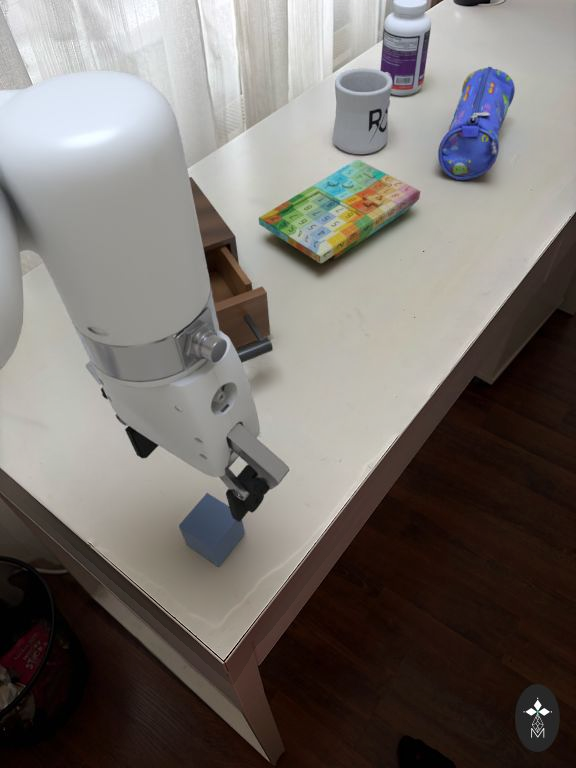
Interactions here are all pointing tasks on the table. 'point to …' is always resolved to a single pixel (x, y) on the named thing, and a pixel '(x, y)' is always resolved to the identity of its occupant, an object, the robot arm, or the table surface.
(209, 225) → the cabinet
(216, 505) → the block
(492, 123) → the pencil case
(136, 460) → the table surface
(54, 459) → the table surface
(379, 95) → the mug
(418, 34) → the pill bottle
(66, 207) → the robot arm
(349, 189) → the puzzle game
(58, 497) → the table surface
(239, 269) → the drawer
